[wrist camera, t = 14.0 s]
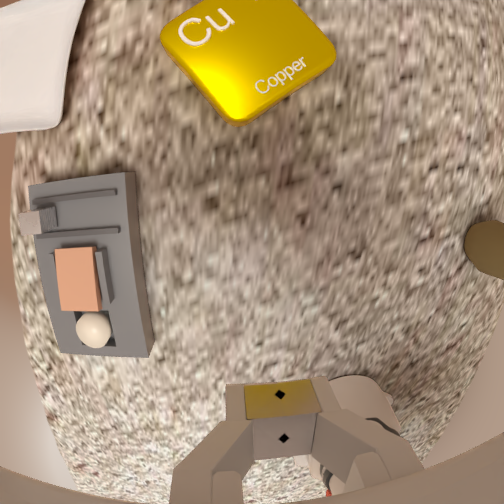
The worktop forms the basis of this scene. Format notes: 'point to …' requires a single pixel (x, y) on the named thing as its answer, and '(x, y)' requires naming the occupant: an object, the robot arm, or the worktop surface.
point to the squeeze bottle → (486, 247)
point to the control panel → (97, 258)
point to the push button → (94, 328)
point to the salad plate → (35, 62)
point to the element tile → (247, 53)
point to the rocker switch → (78, 279)
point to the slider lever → (37, 221)
